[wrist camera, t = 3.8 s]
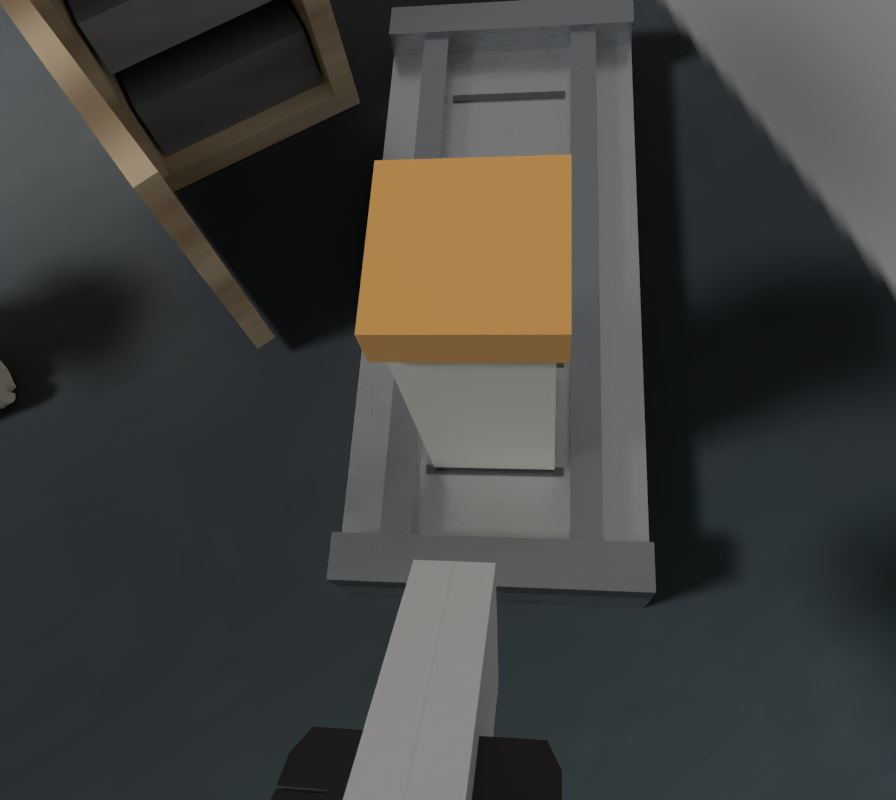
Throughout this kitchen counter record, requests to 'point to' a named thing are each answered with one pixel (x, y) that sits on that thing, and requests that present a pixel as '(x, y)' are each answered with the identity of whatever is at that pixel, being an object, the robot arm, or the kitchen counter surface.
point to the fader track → (593, 317)
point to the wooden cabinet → (191, 94)
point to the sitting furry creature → (6, 387)
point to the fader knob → (472, 301)
